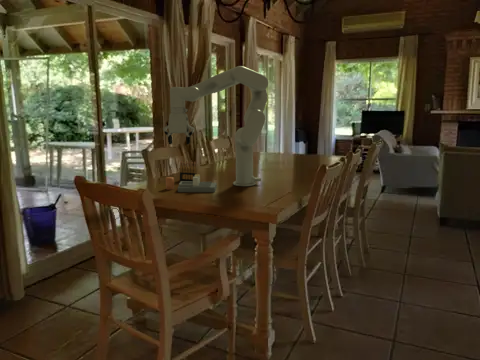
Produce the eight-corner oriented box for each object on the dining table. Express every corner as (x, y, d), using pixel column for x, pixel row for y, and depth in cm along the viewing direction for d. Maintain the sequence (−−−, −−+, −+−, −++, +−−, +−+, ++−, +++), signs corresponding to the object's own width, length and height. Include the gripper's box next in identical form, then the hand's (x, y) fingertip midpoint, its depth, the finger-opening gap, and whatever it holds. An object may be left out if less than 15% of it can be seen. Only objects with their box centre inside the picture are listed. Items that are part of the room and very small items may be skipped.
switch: (198, 185, 210) (198, 176, 209) (197, 186, 207) (197, 177, 206) (193, 185, 210) (193, 176, 209) (193, 186, 207) (192, 177, 206)
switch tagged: (200, 183, 216) (199, 174, 215) (199, 184, 213) (199, 175, 212) (195, 183, 216) (195, 174, 215) (194, 184, 213) (194, 175, 212)
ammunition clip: (179, 180, 237) (179, 160, 235) (181, 180, 239) (180, 160, 237) (196, 181, 234) (195, 161, 231) (197, 181, 235) (196, 160, 233)
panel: (216, 187, 218) (216, 180, 218) (214, 192, 207) (214, 185, 206) (181, 187, 219) (181, 180, 218) (177, 192, 207) (177, 185, 206)
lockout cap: (175, 188, 217) (174, 177, 216) (173, 189, 213) (173, 178, 212) (166, 188, 217) (166, 177, 216) (165, 189, 213) (164, 178, 212)
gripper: (196, 111, 212) (197, 143, 215) (165, 111, 215) (166, 143, 218) (191, 111, 204) (192, 145, 208) (159, 111, 208) (161, 144, 211)
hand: (179, 144), depth 213 cm, fingers open, 9 cm apart
